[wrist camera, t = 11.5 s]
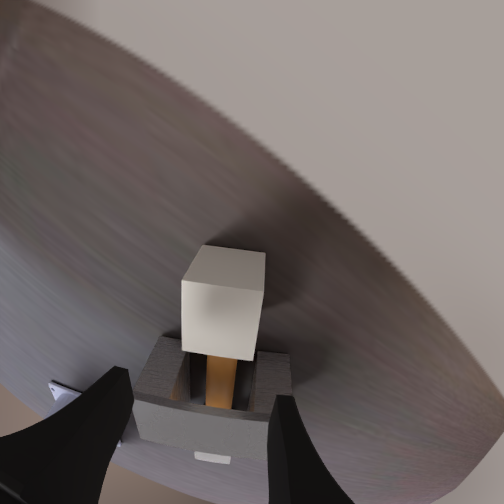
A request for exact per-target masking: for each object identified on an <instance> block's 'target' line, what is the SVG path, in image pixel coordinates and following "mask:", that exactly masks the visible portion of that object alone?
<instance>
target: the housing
mask: <svg viewBox="0 0 504 504" xmlns="http://www.w3.org/2000/svg"><path fill="white" fill-rule="evenodd" d="M276 394H277V395H290V396H292V387H291V371H290V357H289V354H281V353H271V352H262V351H258V353H257V359H256V365H255V370H254V376H253V382H252V387H251V393H250V398H249V404H248V409H247V411H239V410H232V409H224V408H217V407H211V406H205V405H199V404H193V403H191V396H190V352H188V351H182V340H180V339H174V338H169V337H164V336H159V338H158V340H157V342H156V344H155V346H154V348H153V350H152V352H151V354H150V356H149V358H148V360H147V363H146V365H145V367H144V369H143V371H142V373H141V375H140V377H139V379H138V381H137V383H136V385H135V387H134V389H133V396H134V400H135V401H134V404H133V408H132V410H133V413H134V417H135V421H136V424H137V428H138V431H139V435H140V438H141V439H143V440H147V441H151V442H155V443H159V444H163V445H168V446H172V447H177V448H181V449H186V450H192V451H197V452H203V453H209V454H216V455H222V456H230V457H238V458H248V459H259V460H267V436H268V423H269V420H270V416H271V413H272V409H273V405H274V402H275V398H276Z"/></svg>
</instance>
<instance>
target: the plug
mask: <svg viewBox="0 0 504 504" xmlns="http://www.w3.org/2000/svg"><path fill="white" fill-rule="evenodd" d="M265 254H266V253H263V252H255V251H247V250H240V249H232V248H224V247H217V246H209V245H202V246H201V248H200V250H199V251H198V253H197V255H196V257H195V258H194V260H193V262H192V263H191V265H190V267H189V269H188V270H187V272H186V274H185V275H184V277H183V279H182V351H188V352H194V353H200V354H206V355H207V376H206V405H205V406H211V407H217V408H224V409H231V407H232V399H233V391H234V383H235V375H236V367H237V359H240V360H248V361H253V357H254V351H255V345H256V339H257V333H258V327H259V320H260V314H261V308H262V302H263V295H264V281H265ZM232 410H235V409H232ZM230 458H231V457H230V456H222V455H216V454H209V453H203V452H197V451H195V459H198V460H204V461H210V462H216V463H223V464H230Z"/></svg>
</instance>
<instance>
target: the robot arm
mask: <svg viewBox="0 0 504 504" xmlns="http://www.w3.org/2000/svg"><path fill="white" fill-rule="evenodd" d="M49 387H50V389H51V391H52V394H53V396H54V398H55V400H56V401H55V403H54V404H53V406H52V407H51V409H50V410H49V412H48V414H47V415H46V417H45V418H44V420H42V421H40V422H38V423H36V424H34V425H32V426H30V427H28V428H26V429H23V430H21V431H18V432H15V433H12V434H10V435H6V436H3V437H0V504H98V500H99V497H100V493H101V488H102V485H103V481H104V478H105V474H106V471H107V468H108V465H109V462H110V460H111V458H112V455H113V453H114V451H115V449H116V447H117V446H121V445H122V443H121V441H120V438H121V436H122V434H123V432H124V429H125V427H126V425H127V423H128V420H129V417H130V414H131V411H132V408H133V404H134V401H135V400H134V396H133V391H132V387H131V382H130V377H129V373H128V369H125V368H121V367H117V366H114V367H112V368H111V369H110V370H109V371H108V372H107V373H106V374H104V375H103V376H102V377H101V378H100V379H99V380H97V381H96V382H95V383H94V384H93V385H92V386H90V387H89V388H88V389H87V390H86V391H84V392H83V393H79V392H76V391H74V390H71V389H68V388H66V387H63V386H61V385H58V384H56V383H53V382H49ZM267 460H268V481H269V504H355V503H354V502H353V501H352V500H351V499H350V498H349V497H348V496H347V494H346V493H345V492H344V491H343V490H342V489H341V487H340V486H339V485H338V484H337V482H336V481H335V480H334V478H333V477H332V475H331V474H330V472H329V471H328V470H327V468H326V466H325V465H324V463H323V462H322V460H321V458H320V456H319V455H318V453H317V451H316V449H315V447H314V446H313V444H312V442H311V440H310V437H309V435H308V433H307V431H306V429H305V427H304V424H303V422H302V419H301V417H300V414H299V412H298V409H297V406H296V402H295V399H294V397H293V396H290V395H277V394H276V398H275V402H274V405H273V409H272V413H271V416H270V420H269V423H268V436H267Z"/></svg>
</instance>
